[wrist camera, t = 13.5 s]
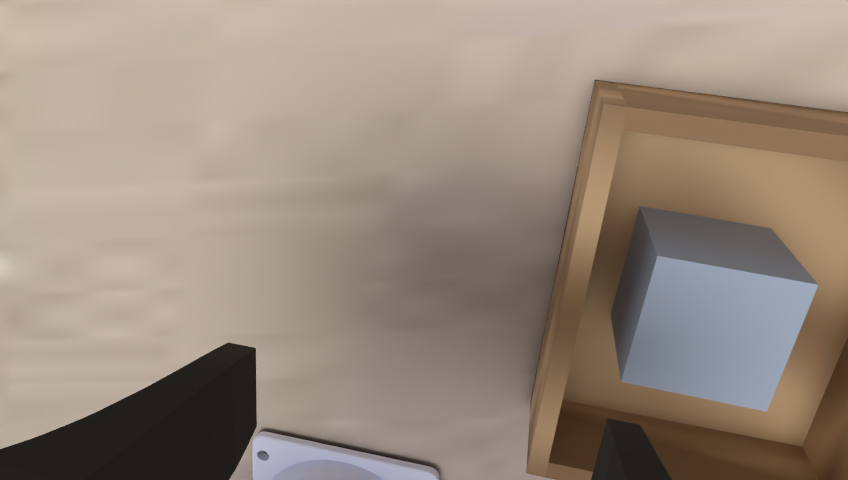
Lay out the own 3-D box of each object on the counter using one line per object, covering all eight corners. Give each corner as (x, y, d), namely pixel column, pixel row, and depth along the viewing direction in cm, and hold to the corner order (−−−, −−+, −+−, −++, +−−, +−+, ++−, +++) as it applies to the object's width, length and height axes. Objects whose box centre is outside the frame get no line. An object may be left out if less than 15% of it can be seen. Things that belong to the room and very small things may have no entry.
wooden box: (809, 453, 23) (855, 542, 20) (530, 399, 25) (526, 472, 21) (949, 125, 19) (1044, 162, 15) (595, 79, 20) (603, 103, 16)
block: (731, 338, 22) (767, 411, 18) (610, 314, 22) (621, 381, 19) (771, 228, 20) (818, 284, 16) (639, 205, 21) (657, 256, 17)
